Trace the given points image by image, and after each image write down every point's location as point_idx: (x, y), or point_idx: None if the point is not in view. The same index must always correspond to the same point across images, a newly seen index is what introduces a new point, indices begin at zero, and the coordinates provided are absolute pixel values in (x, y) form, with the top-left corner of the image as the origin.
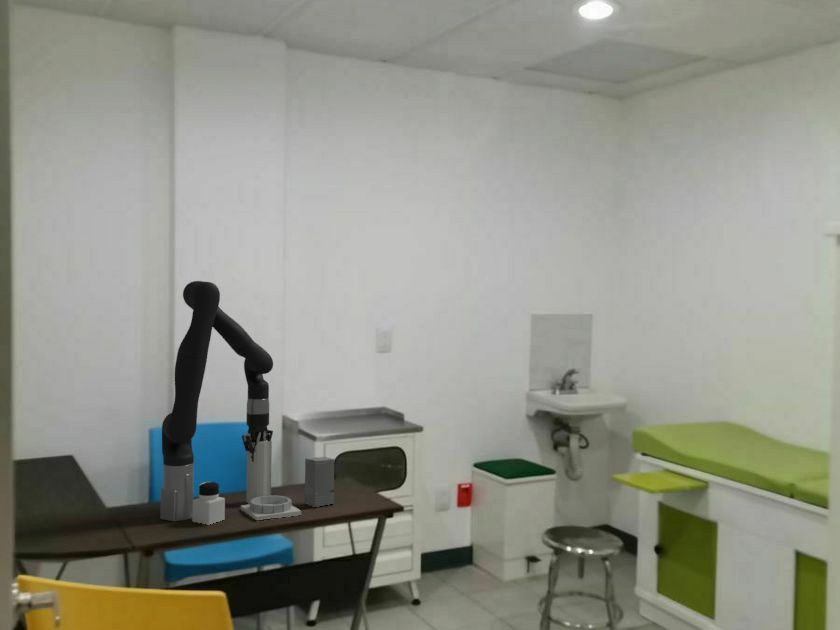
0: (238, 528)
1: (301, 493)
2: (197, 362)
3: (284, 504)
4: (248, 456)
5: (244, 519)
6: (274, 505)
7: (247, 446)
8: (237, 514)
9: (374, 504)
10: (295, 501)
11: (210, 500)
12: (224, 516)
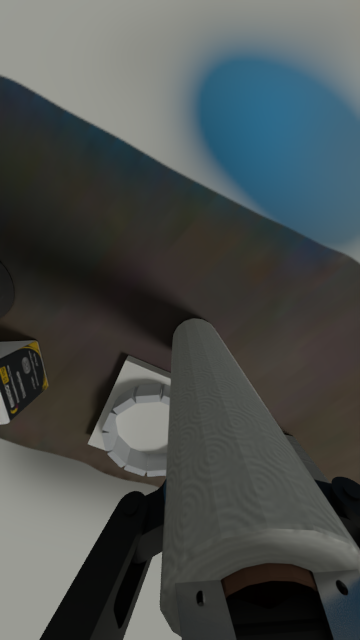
0: (36, 440)
1: (331, 360)
2: None
3: (149, 475)
4: (168, 439)
5: (84, 409)
6: (126, 468)
7: (126, 550)
8: (99, 373)
9: None
10: (260, 395)
11: None
12: (42, 391)
